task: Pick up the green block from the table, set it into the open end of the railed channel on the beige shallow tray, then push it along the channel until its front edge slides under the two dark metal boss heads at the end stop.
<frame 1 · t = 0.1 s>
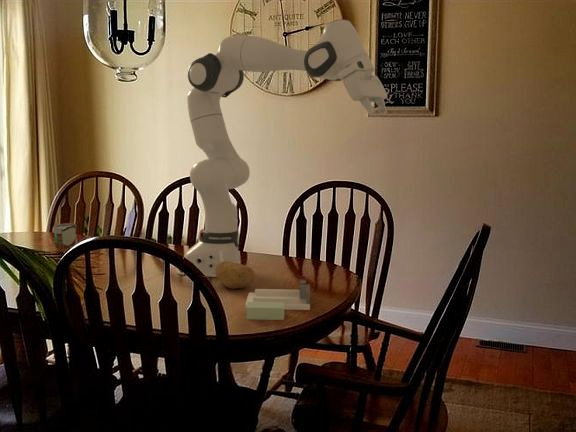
hand: (378, 113, 176), 54 cm above the table, tool tilted 30°, fingers open, 8 cm apart
beige shallow tray: (278, 302, 176), on the table
food container: (62, 250, 240), on the table
potato: (235, 288, 191), on the table
green block: (265, 317, 164), on the table
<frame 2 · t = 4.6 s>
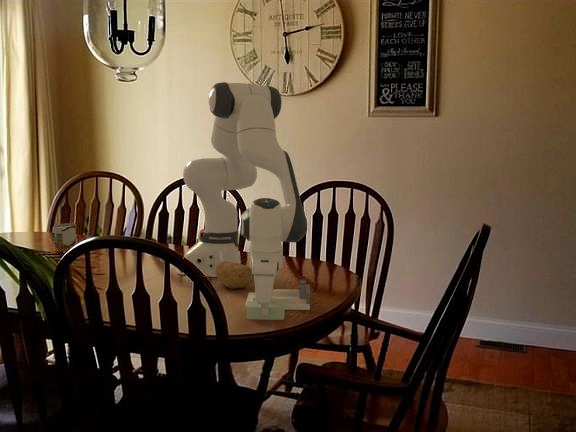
hand: (265, 310, 164), 2 cm above the table, tool pointing down, fingers closed on green block, 5 cm apart
green block: (265, 316, 164), on the table, touching gripper
everything else where it was.
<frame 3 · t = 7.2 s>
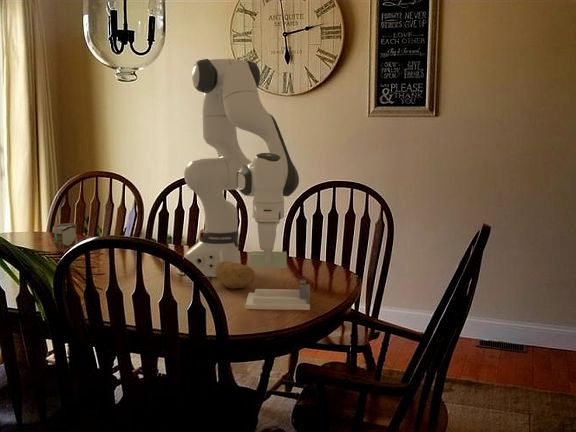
hand: (268, 259, 174), 13 cm above the table, tool pointing down, fingers closed on green block, 5 cm apart
green block: (268, 265, 174), point 11 cm above the table, touching gripper
everything else where it was.
when the fingers open (4 cm above the table, at t = 8.9 s): green block stays where it is, resting on beige shallow tray.
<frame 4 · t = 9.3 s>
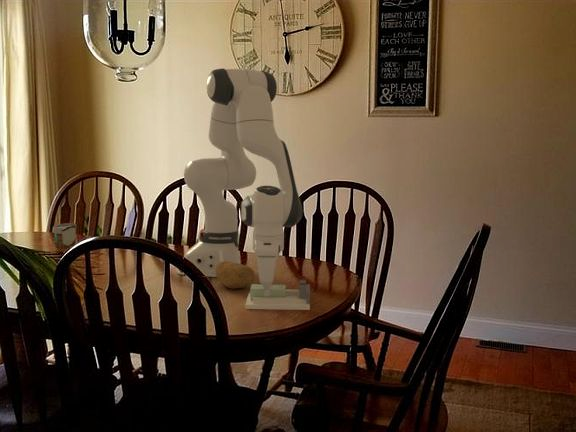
hand: (268, 290, 175), 4 cm above the table, tool pointing down, fingers open, 8 cm apart
green block: (268, 298, 176), point 1 cm above the table, touching beige shallow tray
everything else where it was.
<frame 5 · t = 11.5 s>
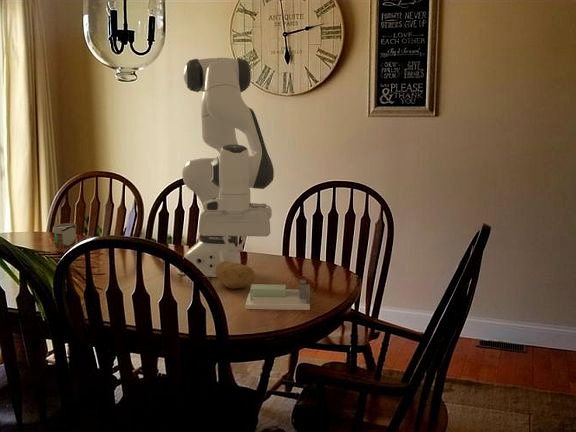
hand: (235, 251, 174), 15 cm above the table, tool pointing down, fingers closed
nothing on the table moved.
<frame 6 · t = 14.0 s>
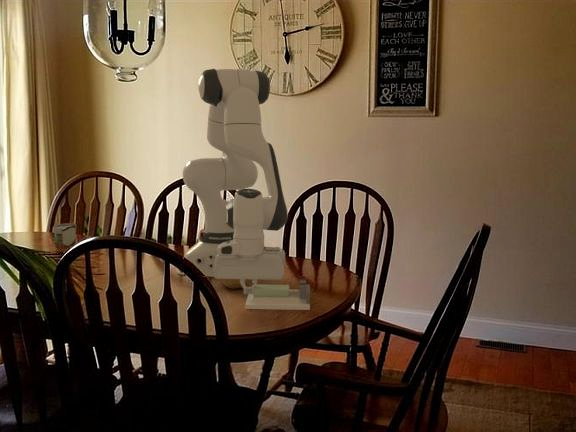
hand: (248, 293, 175), 3 cm above the table, tool pointing down, fingers closed
green block: (271, 298, 176), point 1 cm above the table, touching gripper
everything else where it was.
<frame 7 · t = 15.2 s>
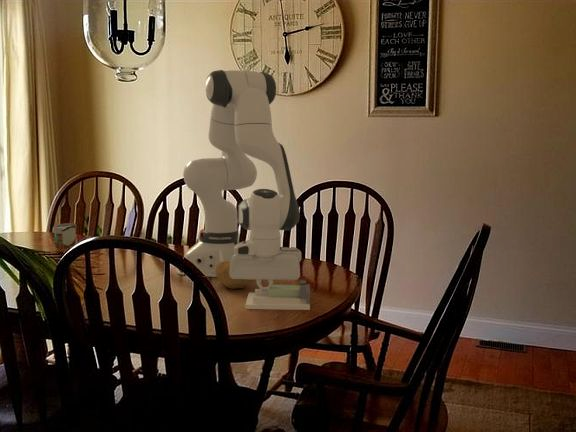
hand: (264, 293, 175), 3 cm above the table, tool pointing down, fingers closed
green block: (287, 299, 176), point 1 cm above the table, touching beige shallow tray, gripper
everything else where it was.
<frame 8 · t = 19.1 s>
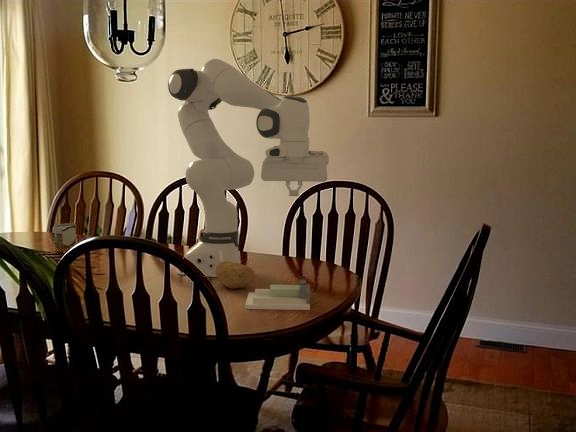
hand: (293, 195, 187), 29 cm above the table, tool pointing down, fingers closed
green block: (287, 299, 176), point 1 cm above the table, touching beige shallow tray
everything else where it was.
at the end: green block 0.1 cm from the target spot on the beige shallow tray, point 1.2 cm above the beige shallow tray's base; green block tilted 0°; green block touching beige shallow tray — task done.
